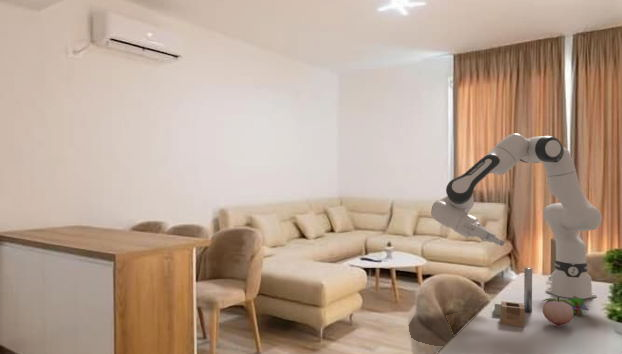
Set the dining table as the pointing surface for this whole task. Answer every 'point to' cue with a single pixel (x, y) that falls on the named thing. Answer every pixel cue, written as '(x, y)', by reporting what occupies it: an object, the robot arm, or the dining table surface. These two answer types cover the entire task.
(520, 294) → the dining table surface
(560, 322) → the decorative fruit
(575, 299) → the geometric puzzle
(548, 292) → the robot arm
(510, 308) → the brown cube-like block
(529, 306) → the pin gauge
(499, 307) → the block
